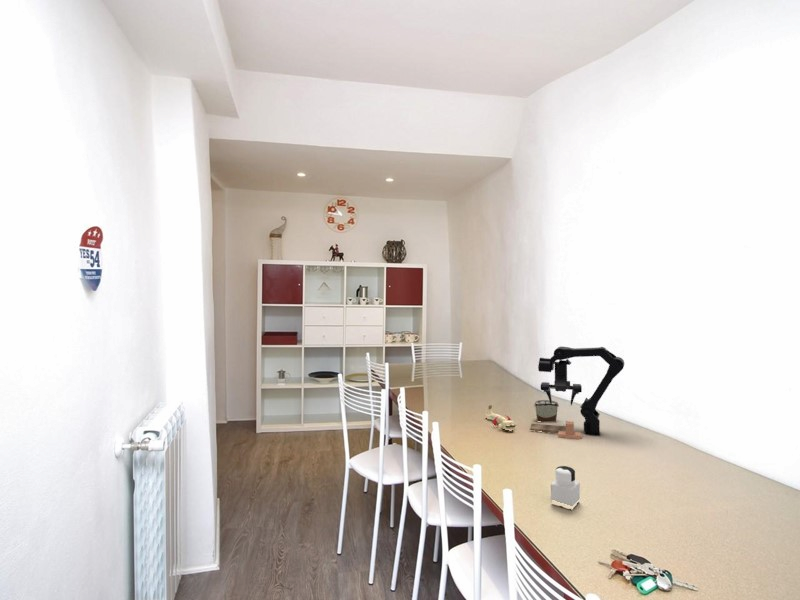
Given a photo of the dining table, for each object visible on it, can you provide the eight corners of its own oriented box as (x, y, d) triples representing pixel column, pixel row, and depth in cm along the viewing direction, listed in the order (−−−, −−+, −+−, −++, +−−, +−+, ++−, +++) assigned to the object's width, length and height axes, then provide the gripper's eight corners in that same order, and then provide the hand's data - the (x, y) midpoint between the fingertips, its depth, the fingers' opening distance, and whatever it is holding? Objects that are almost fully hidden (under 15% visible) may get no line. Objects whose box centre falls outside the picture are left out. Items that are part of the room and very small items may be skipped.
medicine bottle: (558, 496, 162) (558, 462, 161) (580, 502, 157) (579, 467, 157) (550, 504, 156) (550, 469, 156) (572, 511, 152) (572, 474, 151)
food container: (556, 418, 247) (556, 399, 247) (559, 422, 241) (558, 402, 241) (532, 418, 249) (532, 399, 248) (534, 422, 242) (534, 402, 242)
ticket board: (566, 429, 230) (566, 426, 230) (566, 434, 223) (566, 431, 223) (530, 426, 236) (530, 423, 236) (529, 431, 228) (529, 428, 228)
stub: (581, 435, 220) (581, 422, 220) (581, 439, 216) (581, 425, 215) (558, 433, 224) (558, 420, 223) (558, 437, 219) (558, 423, 219)
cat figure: (480, 422, 249) (503, 433, 225) (480, 405, 249) (502, 414, 225) (498, 420, 252) (521, 430, 228) (497, 403, 252) (520, 412, 228)
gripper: (539, 375, 225) (540, 407, 226) (581, 377, 219) (581, 410, 220) (541, 370, 236) (541, 401, 236) (581, 372, 229) (581, 404, 230)
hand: (561, 404), depth 230 cm, fingers open, 9 cm apart
